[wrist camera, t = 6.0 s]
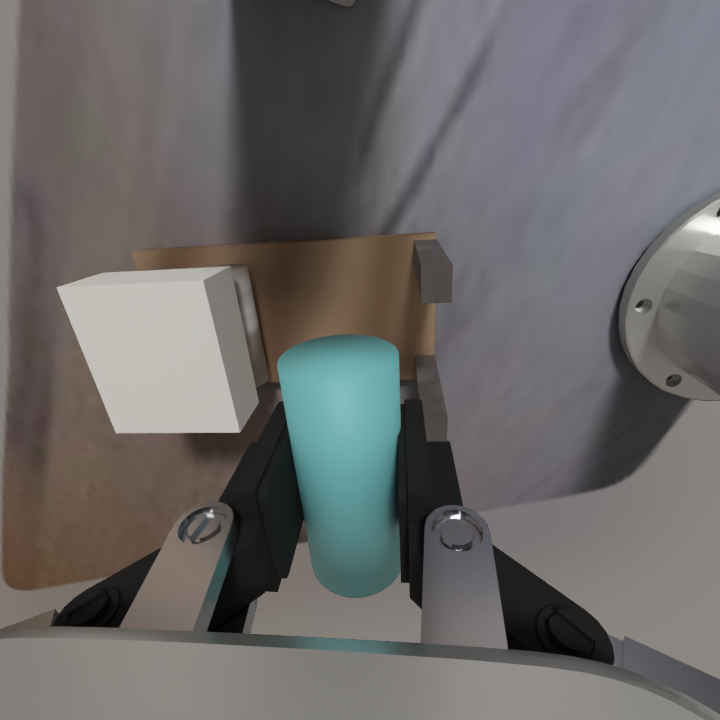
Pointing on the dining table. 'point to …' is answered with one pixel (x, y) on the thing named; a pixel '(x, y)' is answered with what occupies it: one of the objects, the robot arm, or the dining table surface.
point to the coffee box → (344, 2)
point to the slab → (165, 349)
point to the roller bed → (335, 299)
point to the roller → (346, 456)
